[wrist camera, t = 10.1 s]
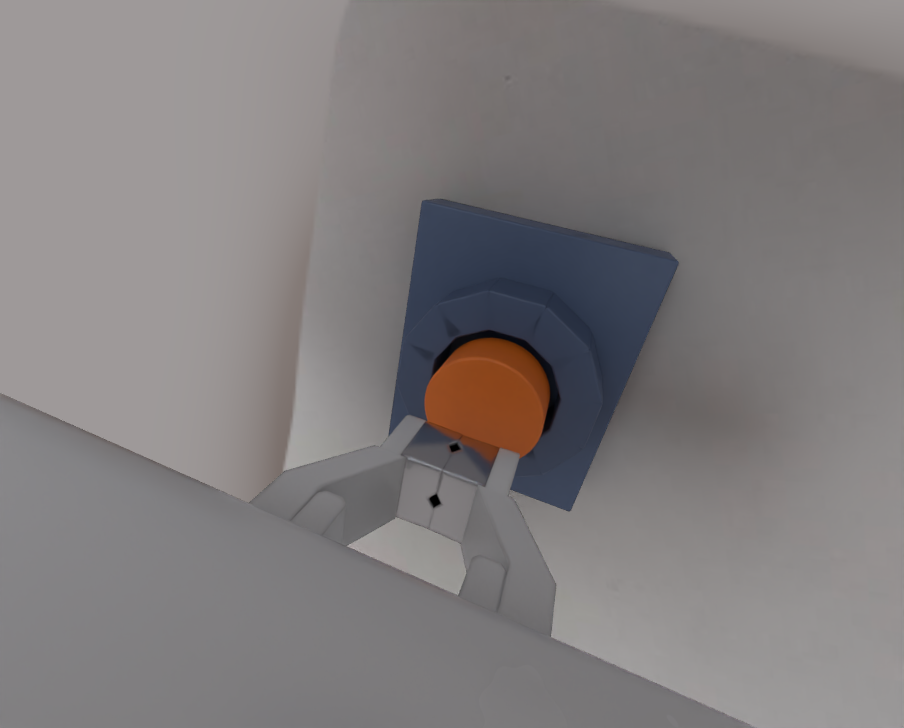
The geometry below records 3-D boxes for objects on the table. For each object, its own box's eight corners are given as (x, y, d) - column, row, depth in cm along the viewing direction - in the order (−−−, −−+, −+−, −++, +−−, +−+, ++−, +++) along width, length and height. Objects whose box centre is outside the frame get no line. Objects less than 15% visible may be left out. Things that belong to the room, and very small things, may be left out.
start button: (453, 322, 13) (433, 341, 12) (565, 356, 12) (560, 380, 11) (434, 415, 15) (415, 442, 13) (532, 450, 14) (524, 482, 12)
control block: (439, 198, 15) (397, 202, 12) (671, 252, 13) (692, 273, 10) (403, 423, 19) (366, 468, 16) (572, 485, 18) (566, 548, 15)
